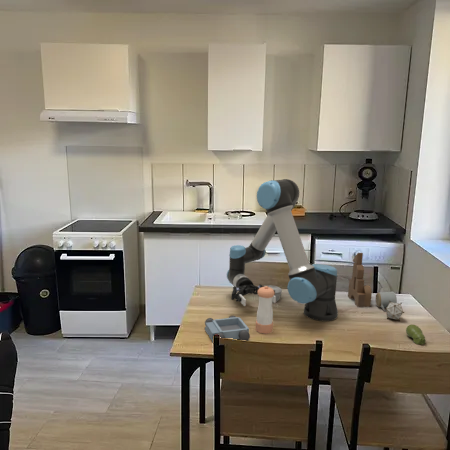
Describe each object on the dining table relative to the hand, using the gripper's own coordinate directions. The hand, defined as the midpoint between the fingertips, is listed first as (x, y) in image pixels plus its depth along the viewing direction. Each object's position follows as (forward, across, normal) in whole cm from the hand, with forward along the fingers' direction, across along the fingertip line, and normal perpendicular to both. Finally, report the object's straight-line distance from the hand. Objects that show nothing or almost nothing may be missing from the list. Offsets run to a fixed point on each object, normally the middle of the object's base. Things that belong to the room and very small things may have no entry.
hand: (260, 301), depth 182 cm
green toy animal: (+28, -57, -11) cm, 64 cm away
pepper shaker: (+4, -1, -11) cm, 12 cm away
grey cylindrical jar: (-3, -67, -11) cm, 68 cm away
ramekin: (-27, -17, -11) cm, 34 cm away
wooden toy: (-14, -58, -11) cm, 61 cm away
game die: (+8, -61, -11) cm, 63 cm away
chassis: (+4, +16, -11) cm, 20 cm away
